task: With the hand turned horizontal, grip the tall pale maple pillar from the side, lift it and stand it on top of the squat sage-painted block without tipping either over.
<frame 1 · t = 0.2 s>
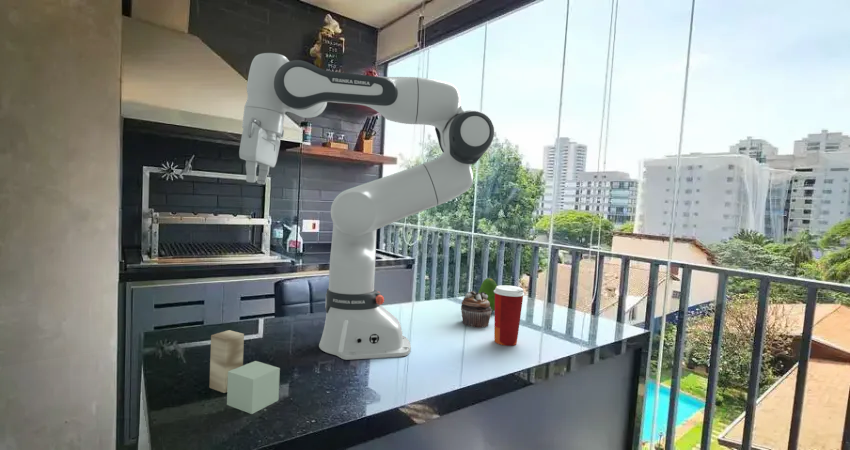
hand: (256, 183, 103), 39 cm above the counter, tool pointing down, fingers open, 8 cm apart
coffee cup: (505, 342, 119), on the counter
maple pillar: (225, 386, 83), on the counter
cupcake: (475, 324, 135), on the counter
sage block: (253, 402, 77), on the counter
avocado: (487, 313, 150), on the counter
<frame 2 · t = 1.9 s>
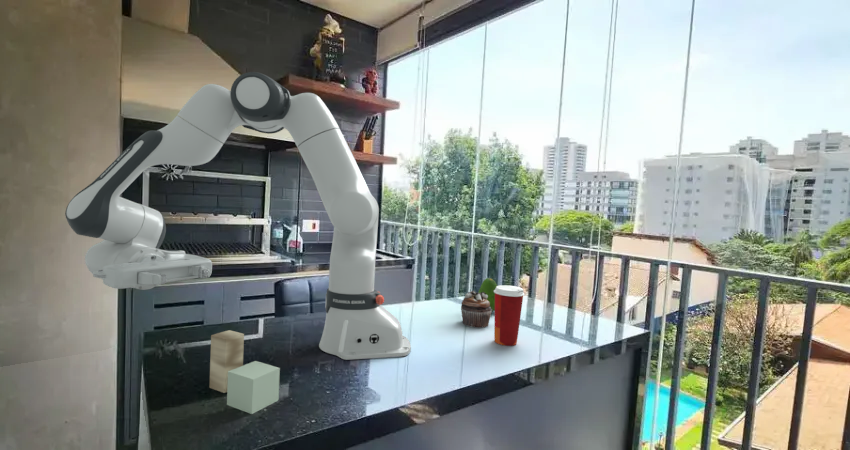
hand: (186, 276, 87), 19 cm above the counter, tool horizontal, fingers open, 8 cm apart
nothing on the counter moved.
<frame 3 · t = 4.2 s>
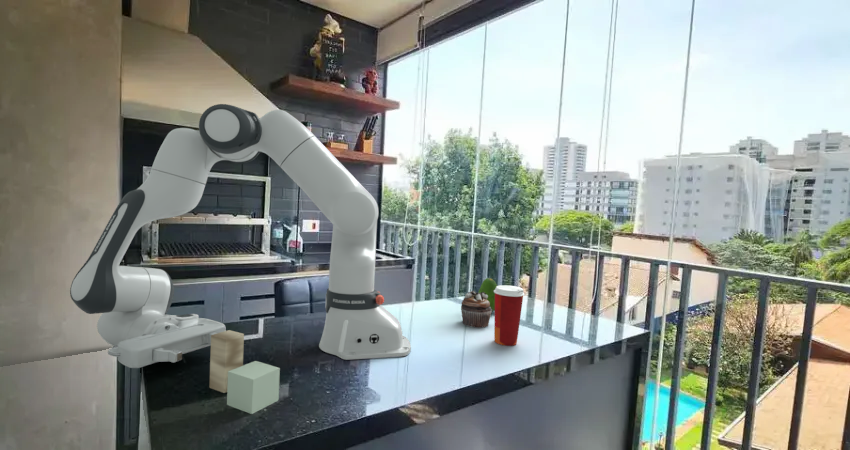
hand: (201, 350, 86), 5 cm above the counter, tool horizontal, fingers open, 8 cm apart
nothing on the counter moved.
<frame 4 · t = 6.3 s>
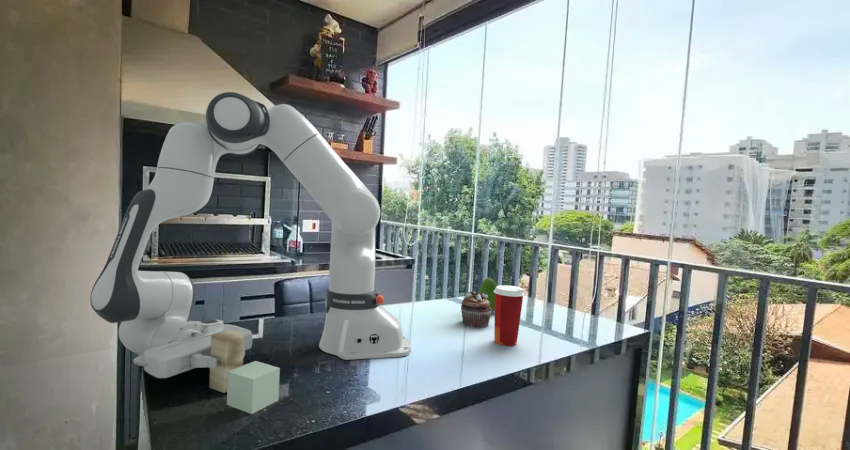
hand: (230, 358, 82), 6 cm above the counter, tool horizontal, fingers closed on maple pillar, 4 cm apart
maple pillar: (225, 386, 83), on the counter, touching gripper
everything else where it was.
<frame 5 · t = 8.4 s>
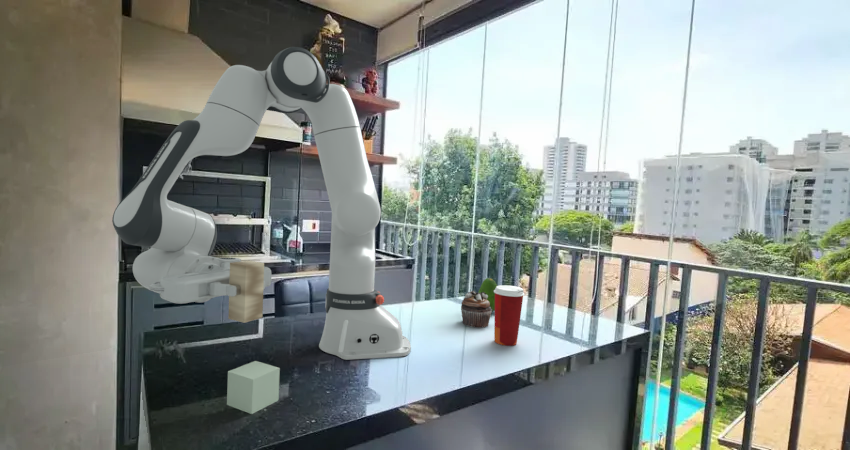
hand: (250, 288, 78), 20 cm above the counter, tool horizontal, fingers closed on maple pillar, 4 cm apart
maple pillar: (245, 318, 78), point 14 cm above the counter, touching gripper
everything else where it was.
when the fingers open (13 cm above the counter, at t = 10.7 s): maple pillar drops 1 cm, point 6 cm above the counter.
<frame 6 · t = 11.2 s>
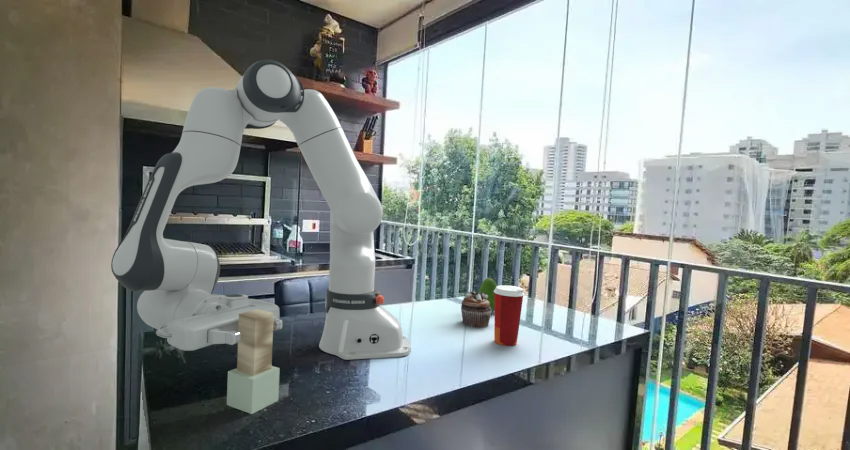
hand: (259, 331, 76), 13 cm above the counter, tool horizontal, fingers open, 8 cm apart
maple pillar: (254, 369, 77), point 6 cm above the counter
everything else where it was.
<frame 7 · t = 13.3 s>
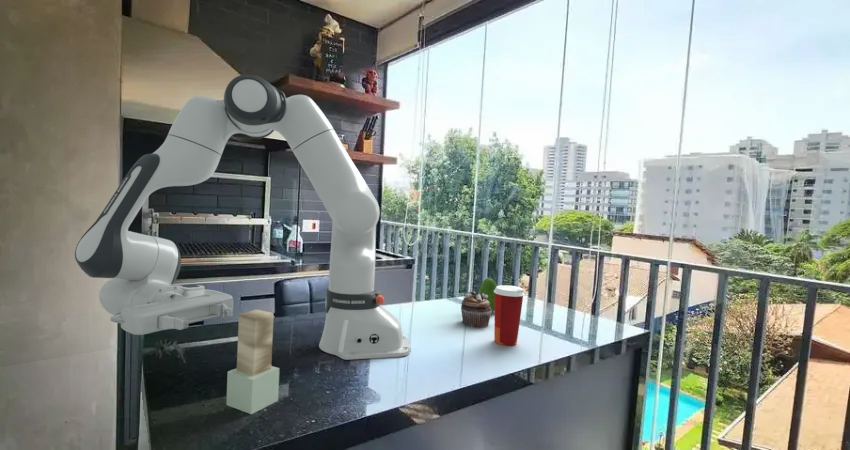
hand: (208, 318, 82), 13 cm above the counter, tool horizontal, fingers open, 8 cm apart
maple pillar: (254, 369, 77), point 6 cm above the counter, touching sage block
sage block: (252, 403, 77), on the counter, touching maple pillar
everything else where it was.
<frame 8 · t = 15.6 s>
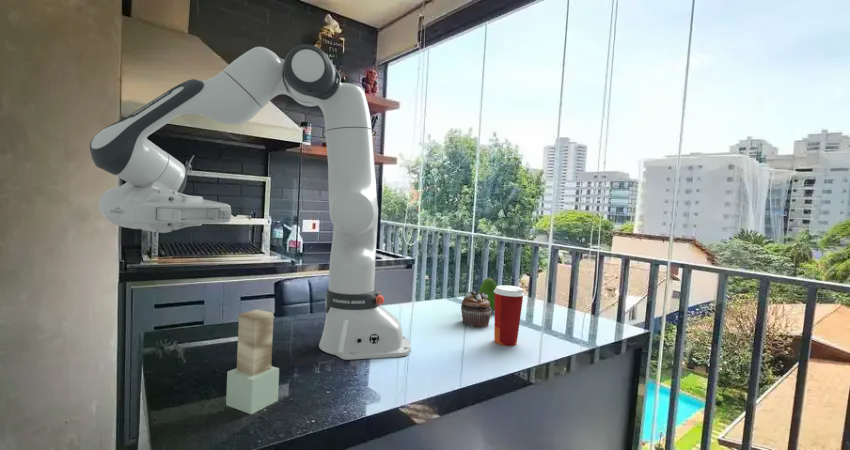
hand: (206, 215, 82), 32 cm above the counter, tool horizontal, fingers open, 8 cm apart
nothing on the counter moved.
at the end: maple pillar 0.1 cm off-centre on the sage block, point 6.0 cm above the sage block's base; maple pillar tilted 0°; sage block moved 0.2 cm from its start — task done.
